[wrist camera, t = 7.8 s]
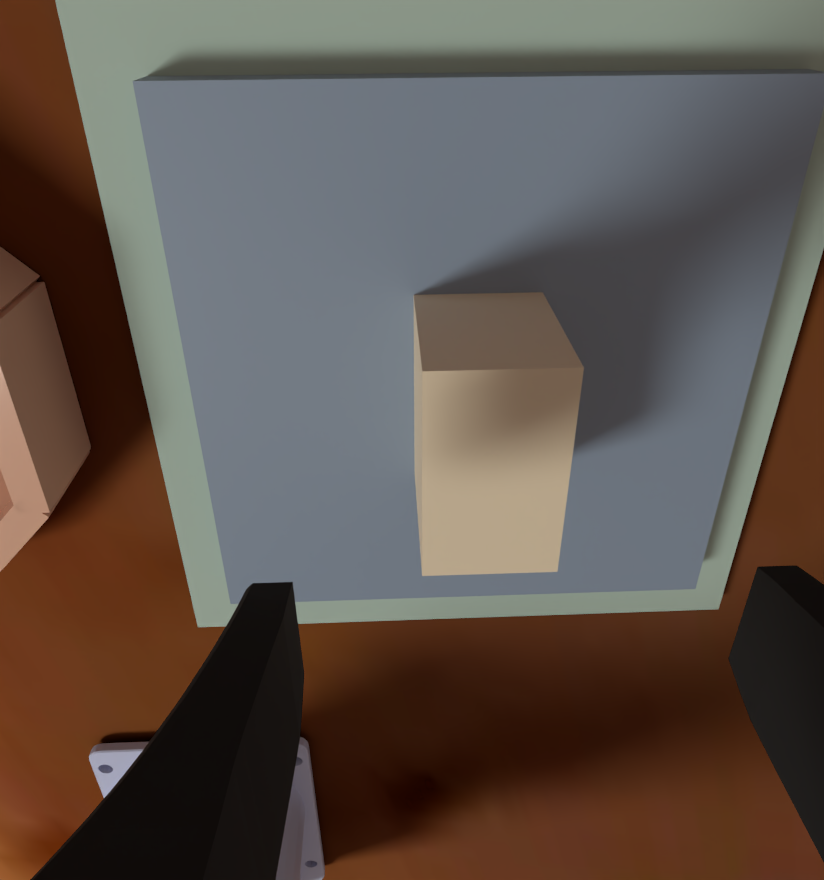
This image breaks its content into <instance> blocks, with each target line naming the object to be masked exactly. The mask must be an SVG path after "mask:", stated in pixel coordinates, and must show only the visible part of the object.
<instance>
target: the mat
mask: <svg viewBox="0 0 824 880" xmlns="http://www.w3.org/2000/svg"><path fill="white" fill-rule="evenodd" d="M55 1H56V6H57V10H58V14H59V19H60V23H61V28H62V32H63V36H64V41H65V45H66V50H67V54H68V58H69V63H70V67H71V72H72V76H73V80H74V85H75V89H76V94H77V98H78V102H79V107H80V111H81V115H82V120H83V124H84V129H85V133H86V137H87V142H88V146H89V151H90V155H91V159H92V164H93V168H94V173H95V177H96V181H97V186H98V190H99V195H100V199H101V203H102V208H103V212H104V217H105V221H106V225H107V230H108V234H109V239H110V243H111V247H112V252H113V256H114V261H115V265H116V269H117V274H118V278H119V282H120V287H121V291H122V296H123V300H124V304H125V309H126V313H127V318H128V322H129V326H130V331H131V335H132V340H133V344H134V348H135V353H136V357H137V362H138V366H139V370H140V375H141V379H142V384H143V388H144V392H145V397H146V401H147V406H148V410H149V414H150V419H151V423H152V428H153V432H154V436H155V441H156V445H157V450H158V454H159V458H160V463H161V467H162V471H163V476H164V480H165V485H166V489H167V493H168V498H169V502H170V507H171V511H172V515H173V520H174V524H175V529H176V533H177V537H178V542H179V546H180V551H181V555H182V559H183V564H184V568H185V573H186V577H187V581H188V586H189V590H190V595H191V599H192V603H193V608H194V612H195V617H196V621H197V625H198V627H217V626H227V624H228V622H229V620H230V619H231V617H232V615H233V613H234V611H235V610H236V608H237V606H238V604H230V599H229V593H228V588H227V583H226V577H225V572H224V567H223V561H222V556H221V551H220V545H219V540H218V535H217V529H216V524H215V519H214V513H213V508H212V503H211V497H210V492H209V487H208V481H207V476H206V471H205V465H204V460H203V455H202V449H201V444H200V439H199V433H198V428H197V423H196V417H195V412H194V407H193V401H192V396H191V391H190V385H189V380H188V375H187V369H186V364H185V359H184V353H183V348H182V343H181V337H180V332H179V327H178V321H177V316H176V311H175V305H174V300H173V295H172V289H171V284H170V279H169V273H168V268H167V263H166V257H165V252H164V247H163V241H162V236H161V231H160V225H159V220H158V215H157V209H156V204H155V199H154V193H153V188H152V183H151V177H150V172H149V167H148V161H147V156H146V151H145V145H144V140H143V135H142V129H141V124H140V119H139V113H138V108H137V103H136V97H135V92H134V87H133V81H134V80H137V79H140V78H143V77H146V76H210V75H302V74H394V73H486V72H578V71H671V70H763V69H811V70H816V71H822V72H824V0H55ZM823 249H824V108H823V112H822V116H821V119H820V123H819V127H818V131H817V134H816V138H815V142H814V146H813V149H812V153H811V157H810V161H809V164H808V168H807V172H806V176H805V180H804V183H803V187H802V191H801V195H800V198H799V202H798V206H797V210H796V213H795V217H794V221H793V225H792V228H791V232H790V236H789V240H788V243H787V247H786V251H785V255H784V258H783V262H782V266H781V270H780V273H779V277H778V281H777V285H776V289H775V292H774V296H773V300H772V304H771V307H770V311H769V315H768V319H767V322H766V326H765V330H764V334H763V337H762V341H761V345H760V349H759V352H758V356H757V360H756V364H755V367H754V371H753V375H752V379H751V382H750V386H749V390H748V394H747V398H746V401H745V405H744V409H743V413H742V416H741V420H740V424H739V428H738V431H737V435H736V439H735V443H734V446H733V450H732V454H731V458H730V461H729V465H728V469H727V473H726V476H725V480H724V484H723V488H722V491H721V495H720V499H719V503H718V507H717V510H716V514H715V518H714V522H713V525H712V529H711V533H710V537H709V540H708V544H707V548H706V552H705V555H704V559H703V563H702V567H701V570H700V574H699V578H698V582H697V585H696V589H684V590H653V591H622V592H590V593H559V594H528V595H497V596H466V597H435V598H403V599H372V600H341V601H310V602H295V605H296V613H297V621H298V624H304V623H333V622H362V621H391V620H420V619H449V618H478V617H507V616H536V615H565V614H594V613H623V612H652V611H682V610H711V609H719V606H720V602H721V599H722V596H723V592H724V589H725V585H726V582H727V578H728V575H729V571H730V568H731V565H732V561H733V558H734V554H735V551H736V547H737V544H738V541H739V537H740V534H741V530H742V527H743V523H744V520H745V517H746V513H747V510H748V506H749V503H750V499H751V496H752V493H753V489H754V486H755V482H756V479H757V475H758V472H759V468H760V465H761V462H762V458H763V455H764V451H765V448H766V444H767V441H768V438H769V434H770V431H771V427H772V424H773V420H774V417H775V414H776V410H777V407H778V403H779V400H780V396H781V393H782V390H783V386H784V383H785V379H786V376H787V372H788V369H789V365H790V362H791V359H792V355H793V352H794V348H795V345H796V341H797V338H798V335H799V331H800V328H801V324H802V321H803V317H804V314H805V311H806V307H807V304H808V300H809V297H810V293H811V290H812V287H813V283H814V280H815V276H816V273H817V269H818V266H819V262H820V259H821V256H822V252H823Z"/></svg>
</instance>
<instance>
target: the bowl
mask: <svg viewBox="0 0 824 880" xmlns="http://www.w3.org/2000/svg"><path fill="white" fill-rule="evenodd" d="M39 277H40V275H38V274H37V273H35V272H34V271H33V270H31V269H30V268H29V267H27V266H26V265H25V264H23V263H22V262H20V261H19V260H18V259H16V258H15V257H14V256H12V255H11V254H10V253H8V252H7V251H6V250H4V249H3V248H1V247H0V571H1V570H2V569H3V568H4V567H5V566H6V565H7V564H8V562H9V561H10V560H11V559H12V558H13V557H14V556H15V555H16V553H17V552H18V551H19V550H20V549H21V548H22V547H23V546H24V545H25V543H26V542H27V541H28V540H29V539H30V538H31V537H32V536H33V535H34V533H35V532H36V531H37V530H38V529H39V528H40V527H41V526H42V525H43V523H44V522H45V521H46V520H47V519H48V518H49V517H50V515H51V513H52V512H53V510H54V509H55V507H56V505H57V504H58V502H59V501H60V499H61V498H62V496H63V494H64V493H65V491H66V490H67V488H68V486H69V485H70V483H71V482H72V480H73V479H74V477H75V475H76V474H77V472H78V471H79V469H80V467H81V466H82V464H83V463H84V461H85V459H86V458H87V456H88V455H89V453H90V451H89V450H90V449H91V445H90V441H89V438H88V434H87V431H86V427H85V424H84V420H83V416H82V413H81V409H80V406H79V402H78V399H77V395H76V392H75V388H74V385H73V381H72V378H71V374H70V371H69V367H68V364H67V360H66V357H65V353H64V349H63V346H62V342H61V339H60V335H59V332H58V328H57V325H56V321H55V318H54V314H53V311H52V307H51V304H50V300H49V297H48V293H47V289H46V286H45V282H36V281H37V280H38V278H39Z"/></svg>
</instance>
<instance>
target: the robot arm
mask: <svg viewBox="0 0 824 880" xmlns="http://www.w3.org/2000/svg"><path fill="white" fill-rule="evenodd" d="M729 662H730V664H731V667H732V670H733V673H734V676H735V679H736V682H737V685H738V688H739V690H740V693H741V696H742V699H743V701H744V704H745V706H746V709H747V712H748V714H749V717H750V719H751V722H752V724H753V726H754V728H755V730H756V732H757V734H758V736H759V738H760V740H761V742H762V744H763V746H764V748H765V750H766V752H767V754H768V756H769V758H770V760H771V762H772V763H773V765H774V767H775V769H776V771H777V773H778V775H779V777H780V779H781V781H782V783H783V785H784V787H785V789H786V791H787V792H788V794H789V796H790V798H791V800H792V802H793V804H794V806H795V808H796V810H797V812H798V814H799V816H800V817H801V819H802V821H803V823H804V825H805V827H806V829H807V831H808V833H809V835H810V837H811V839H812V841H813V842H814V844H815V846H816V848H817V850H818V852H819V854H820V856H821V858H822V860H823V862H824V585H823V584H822V583H820V582H819V581H818V580H816V579H815V578H814V577H812V576H811V575H809V574H808V573H806V572H805V571H804V570H802V569H801V568H799V567H798V566H768V567H758V568H757V571H756V574H755V577H754V580H753V583H752V586H751V590H750V593H749V596H748V599H747V602H746V605H745V609H744V612H743V615H742V618H741V621H740V624H739V627H738V631H737V634H736V637H735V640H734V643H733V646H732V649H731V653H730V656H729ZM303 685H304V669H303V661H302V653H301V645H300V637H299V629H298V621H297V613H296V605H295V597H294V589H293V582H275V583H252V584H251V585H250V586H249V587H248V588H247V589H246V590H245V592H244V594H243V596H242V598H241V600H240V602H239V604H238V606H237V608H236V610H235V611H234V613H233V615H232V617H231V619H230V620H229V622H228V624H227V626H226V627H225V629H224V631H223V633H222V634H221V636H220V638H219V639H218V641H217V642H216V644H215V646H214V647H213V649H212V651H211V652H210V654H209V656H208V657H207V659H206V660H205V662H204V663H203V665H202V666H201V668H200V669H199V671H198V673H197V674H196V676H195V677H194V679H193V680H192V682H191V683H190V685H189V686H188V688H187V689H186V691H185V692H184V694H183V695H182V697H181V698H180V700H179V701H178V703H177V704H176V706H175V707H174V708H173V710H172V711H171V713H170V714H169V715H168V717H167V718H166V719H165V721H164V722H163V723H162V725H161V726H160V728H159V729H158V730H157V732H156V733H155V734H154V736H153V737H152V738H151V740H150V741H149V742H123V743H102V744H97V745H95V746H94V747H93V748H92V750H91V753H90V755H89V761H90V763H91V766H92V768H93V771H94V774H95V776H96V779H97V781H98V784H99V786H100V789H101V792H102V794H103V797H104V799H103V800H102V801H101V803H100V804H99V805H98V806H97V807H96V809H95V810H94V811H93V812H92V813H91V814H90V816H89V817H88V818H87V819H86V820H85V821H84V822H83V824H82V825H81V826H80V827H79V828H78V829H77V830H76V831H75V832H74V833H73V834H72V836H71V837H70V838H69V839H68V840H67V841H66V842H65V843H64V844H63V845H62V847H61V848H60V849H59V850H58V851H57V852H56V853H55V854H54V855H53V856H52V857H51V859H50V860H49V861H48V862H47V863H46V864H45V865H44V866H43V867H42V868H41V869H40V870H39V871H38V872H37V873H36V874H35V876H34V877H33V878H32V879H31V880H322V879H323V878H324V875H325V864H324V857H323V849H322V842H321V834H320V826H319V819H318V811H317V804H316V796H315V788H314V781H313V773H312V766H311V758H310V750H309V744H308V742H307V740H305V739H304V738H302V737H300V731H301V717H302V702H303Z"/></svg>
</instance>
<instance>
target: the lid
mask: <svg viewBox="0 0 824 880" xmlns="http://www.w3.org/2000/svg"><path fill="white" fill-rule="evenodd" d="M133 87H134V92H135V97H136V103H137V108H138V113H139V119H140V124H141V129H142V135H143V140H144V145H145V151H146V156H147V161H148V167H149V172H150V177H151V183H152V188H153V193H154V199H155V204H156V209H157V215H158V220H159V225H160V231H161V236H162V241H163V247H164V252H165V257H166V263H167V268H168V273H169V279H170V284H171V289H172V295H173V300H174V305H175V311H176V316H177V321H178V327H179V332H180V337H181V343H182V348H183V353H184V359H185V364H186V369H187V375H188V380H189V385H190V391H191V396H192V401H193V407H194V412H195V417H196V423H197V428H198V433H199V439H200V444H201V449H202V455H203V460H204V465H205V471H206V476H207V481H208V487H209V492H210V497H211V503H212V508H213V513H214V519H215V524H216V529H217V535H218V540H219V545H220V551H221V556H222V561H223V567H224V572H225V577H226V583H227V588H228V593H229V599H230V604H239V602H240V600H241V598H242V596H243V594H244V592H245V590H246V589H247V588H248V587H249V586H250V585H251V584H252V583H275V582H293V589H294V597H295V602H310V601H341V600H372V599H403V598H435V597H466V596H497V595H528V594H559V593H590V592H622V591H653V590H684V589H696V585H697V582H698V578H699V574H700V570H701V567H702V563H703V559H704V555H705V552H706V548H707V544H708V540H709V537H710V533H711V529H712V525H713V522H714V518H715V514H716V510H717V507H718V503H719V499H720V495H721V491H722V488H723V484H724V480H725V476H726V473H727V469H728V465H729V461H730V458H731V454H732V450H733V446H734V443H735V439H736V435H737V431H738V428H739V424H740V420H741V416H742V413H743V409H744V405H745V401H746V398H747V394H748V390H749V386H750V382H751V379H752V375H753V371H754V367H755V364H756V360H757V356H758V352H759V349H760V345H761V341H762V337H763V334H764V330H765V326H766V322H767V319H768V315H769V311H770V307H771V304H772V300H773V296H774V292H775V289H776V285H777V281H778V277H779V273H780V270H781V266H782V262H783V258H784V255H785V251H786V247H787V243H788V240H789V236H790V232H791V228H792V225H793V221H794V217H795V213H796V210H797V206H798V202H799V198H800V195H801V191H802V187H803V183H804V180H805V176H806V172H807V168H808V164H809V161H810V157H811V153H812V149H813V146H814V142H815V138H816V134H817V131H818V127H819V123H820V119H821V116H822V112H823V108H824V72H822V71H816V70H811V69H763V70H671V71H578V72H486V73H394V74H302V75H210V76H146V77H143V78H140V79H137V80H134V81H133Z"/></svg>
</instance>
